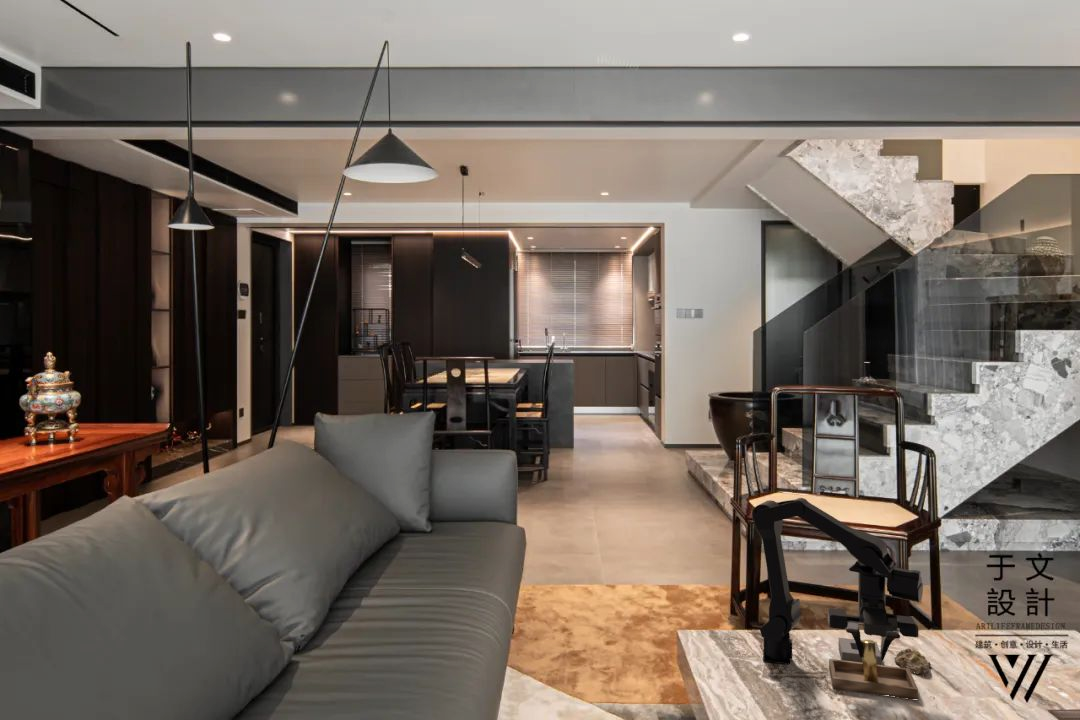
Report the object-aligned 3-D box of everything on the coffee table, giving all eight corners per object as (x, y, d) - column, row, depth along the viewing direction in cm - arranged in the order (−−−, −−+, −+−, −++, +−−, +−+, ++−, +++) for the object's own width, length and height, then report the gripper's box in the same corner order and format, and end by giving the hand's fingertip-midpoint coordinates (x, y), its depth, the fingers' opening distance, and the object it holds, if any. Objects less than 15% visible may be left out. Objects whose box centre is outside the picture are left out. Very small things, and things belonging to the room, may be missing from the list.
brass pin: (865, 682, 162) (861, 643, 162) (863, 677, 164) (860, 639, 165) (879, 683, 161) (875, 644, 161) (877, 678, 164) (874, 639, 164)
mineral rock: (886, 647, 177) (918, 640, 176) (890, 663, 177) (923, 657, 176) (903, 668, 167) (937, 661, 166) (908, 685, 167) (942, 678, 166)
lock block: (842, 663, 173) (842, 651, 173) (838, 648, 181) (838, 637, 181) (881, 668, 170) (881, 656, 170) (876, 653, 178) (876, 641, 178)
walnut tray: (832, 688, 160) (832, 678, 160) (829, 668, 170) (829, 658, 170) (918, 700, 155) (918, 689, 155) (908, 678, 165) (908, 668, 165)
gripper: (831, 600, 157) (831, 668, 158) (923, 609, 152) (923, 680, 152) (827, 584, 168) (827, 647, 168) (913, 592, 162) (913, 658, 162)
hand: (871, 658), depth 162 cm, fingers open, 4 cm apart
